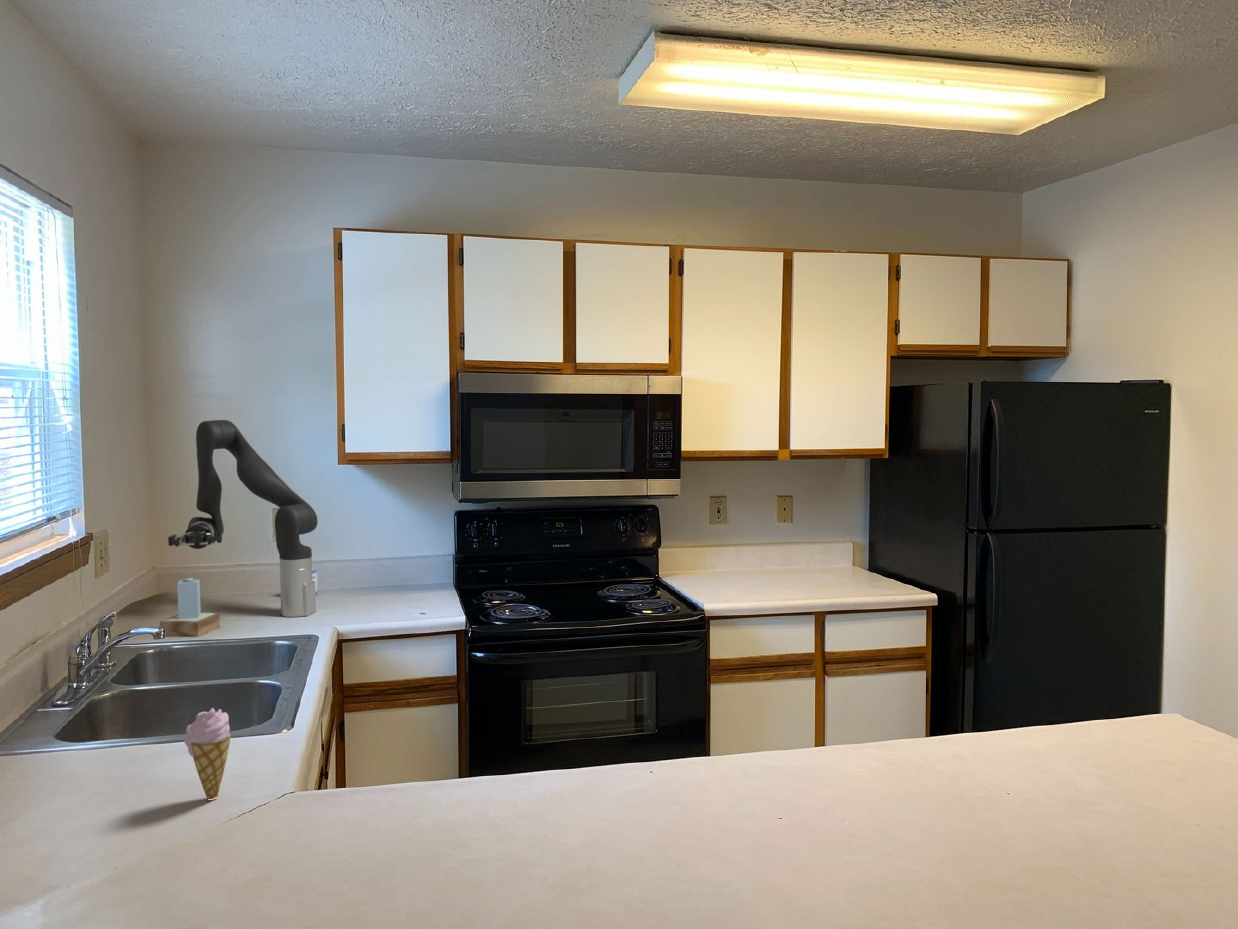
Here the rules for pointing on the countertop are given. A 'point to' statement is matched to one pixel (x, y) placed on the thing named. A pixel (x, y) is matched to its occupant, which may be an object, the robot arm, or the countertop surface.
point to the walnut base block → (191, 625)
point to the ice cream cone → (209, 748)
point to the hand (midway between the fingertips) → (192, 542)
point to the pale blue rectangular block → (189, 598)
